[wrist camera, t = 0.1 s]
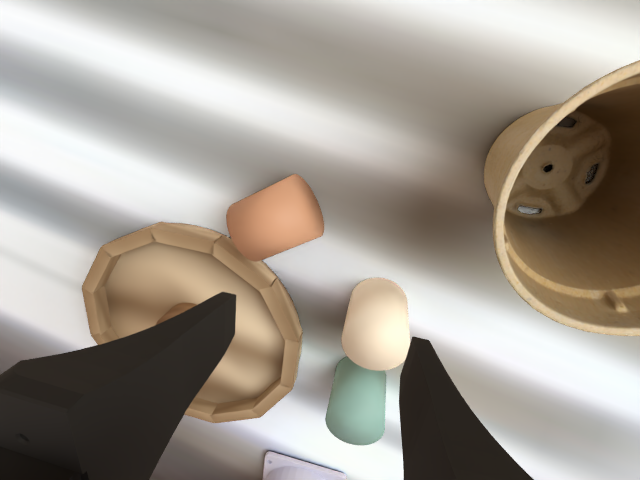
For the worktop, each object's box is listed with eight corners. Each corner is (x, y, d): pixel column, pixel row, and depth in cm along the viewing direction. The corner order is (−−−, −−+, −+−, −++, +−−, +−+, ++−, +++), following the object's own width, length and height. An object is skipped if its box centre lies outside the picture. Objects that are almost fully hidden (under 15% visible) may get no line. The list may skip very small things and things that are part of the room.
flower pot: (652, 39, 15) (916, -22, 8) (649, 225, 18) (837, 319, 11) (440, 104, 18) (475, 108, 10) (467, 257, 21) (510, 349, 13)
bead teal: (380, 399, 27) (377, 451, 23) (332, 386, 28) (321, 435, 24) (391, 362, 26) (390, 411, 21) (339, 349, 26) (329, 395, 22)
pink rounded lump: (255, 273, 21) (319, 249, 19) (217, 221, 19) (283, 189, 17) (272, 240, 24) (327, 217, 22) (240, 193, 22) (297, 165, 21)
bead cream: (400, 331, 24) (401, 377, 20) (346, 318, 25) (336, 361, 21) (413, 284, 23) (417, 324, 19) (355, 272, 23) (347, 308, 19)
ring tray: (290, 425, 31) (283, 448, 29) (115, 375, 33) (97, 393, 31) (315, 250, 23) (308, 265, 21) (87, 202, 26) (61, 211, 24)
